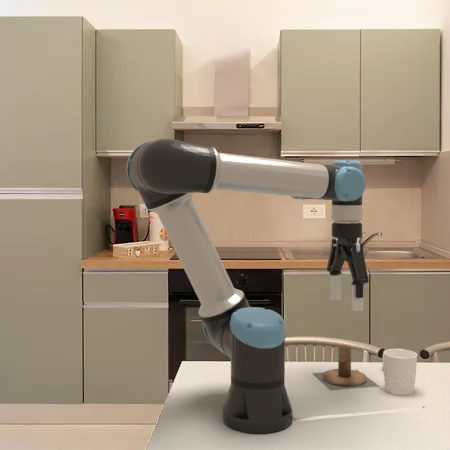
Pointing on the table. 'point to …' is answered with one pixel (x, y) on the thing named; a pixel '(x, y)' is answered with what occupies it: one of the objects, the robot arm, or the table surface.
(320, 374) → the mat
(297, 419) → the table surface
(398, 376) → the white cup
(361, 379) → the walnut lid
